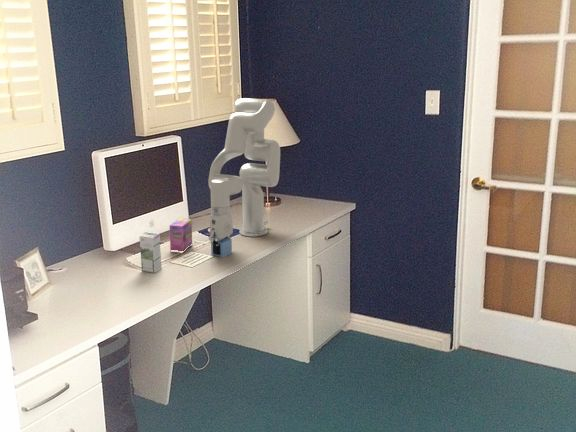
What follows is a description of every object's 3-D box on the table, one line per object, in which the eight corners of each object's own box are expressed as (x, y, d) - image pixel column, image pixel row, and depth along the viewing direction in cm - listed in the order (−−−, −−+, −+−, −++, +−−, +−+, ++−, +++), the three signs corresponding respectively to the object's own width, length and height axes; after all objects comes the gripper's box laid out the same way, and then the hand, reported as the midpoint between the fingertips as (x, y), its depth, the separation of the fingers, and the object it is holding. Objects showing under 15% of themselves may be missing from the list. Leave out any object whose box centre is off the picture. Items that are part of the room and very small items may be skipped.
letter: (191, 252, 277) (191, 251, 277) (213, 256, 271) (213, 256, 271) (169, 262, 265) (169, 261, 265) (191, 267, 260) (191, 266, 260)
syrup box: (162, 268, 259) (160, 232, 255) (154, 273, 253) (152, 237, 249) (149, 266, 261) (147, 231, 256) (141, 271, 255) (138, 235, 251)
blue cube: (219, 250, 279) (219, 236, 277) (231, 252, 276) (231, 238, 275) (211, 254, 274) (210, 240, 272) (223, 257, 271) (223, 243, 270)
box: (183, 253, 275) (182, 226, 272) (170, 252, 276) (168, 225, 273) (192, 245, 285) (191, 219, 281) (180, 244, 286) (179, 217, 283)
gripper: (215, 216, 261) (216, 259, 266) (240, 206, 275) (241, 247, 280) (199, 213, 265) (201, 256, 270) (225, 203, 279) (226, 244, 284)
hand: (221, 251), depth 275 cm, fingers closed on blue cube, 6 cm apart
